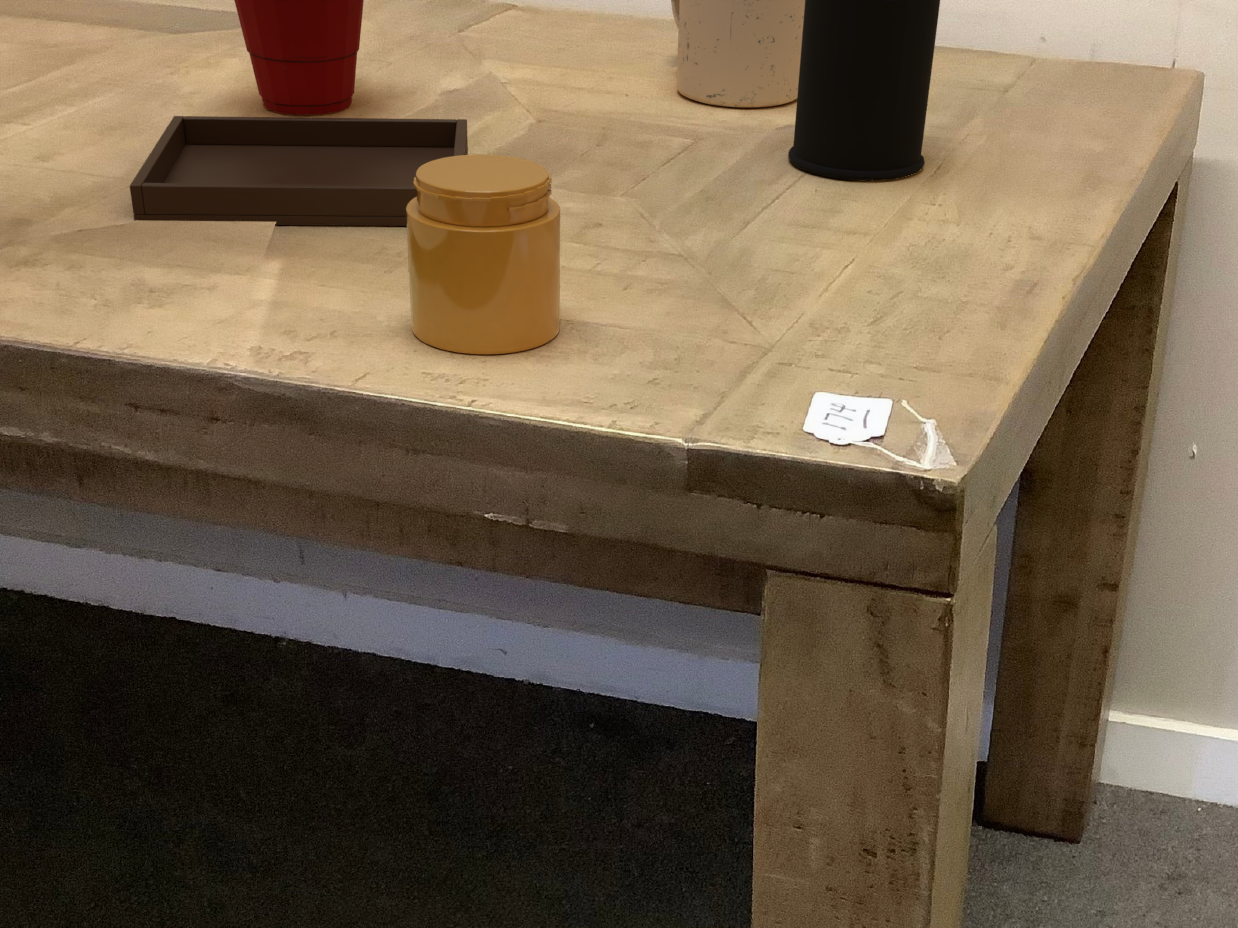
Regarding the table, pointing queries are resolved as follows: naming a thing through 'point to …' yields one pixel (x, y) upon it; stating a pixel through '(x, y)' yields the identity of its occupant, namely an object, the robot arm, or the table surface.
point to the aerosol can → (864, 87)
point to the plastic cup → (303, 52)
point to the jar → (484, 255)
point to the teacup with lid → (739, 51)
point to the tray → (290, 169)
